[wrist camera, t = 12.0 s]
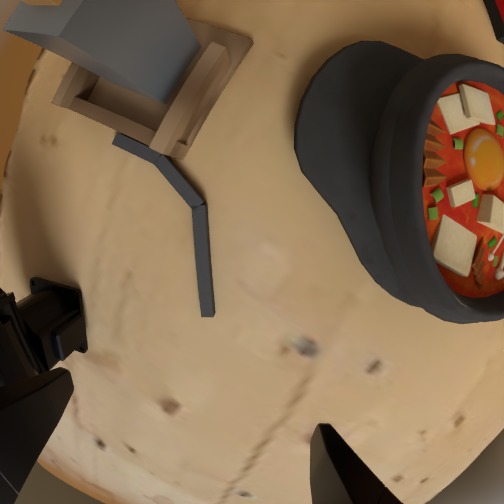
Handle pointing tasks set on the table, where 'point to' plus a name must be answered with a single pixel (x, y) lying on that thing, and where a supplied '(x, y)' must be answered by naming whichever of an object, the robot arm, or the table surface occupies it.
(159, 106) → the tray
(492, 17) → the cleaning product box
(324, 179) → the casserole
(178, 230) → the table surface
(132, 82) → the block
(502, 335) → the table surface
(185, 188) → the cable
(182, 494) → the table surface
